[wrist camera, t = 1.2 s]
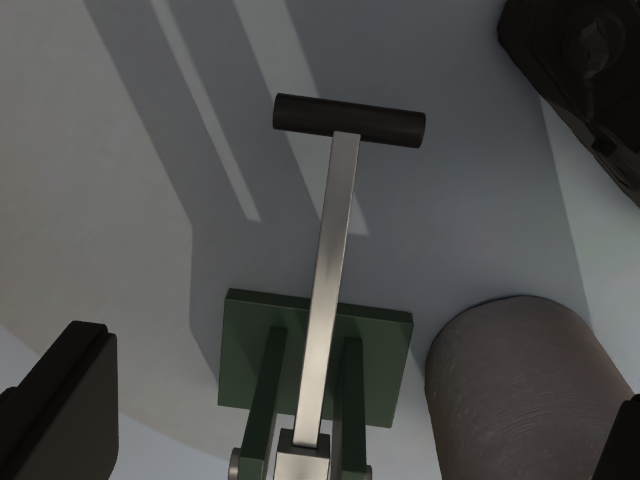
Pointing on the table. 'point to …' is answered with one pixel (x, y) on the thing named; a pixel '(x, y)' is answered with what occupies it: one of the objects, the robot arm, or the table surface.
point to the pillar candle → (521, 393)
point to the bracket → (285, 370)
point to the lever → (330, 255)
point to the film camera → (585, 73)
